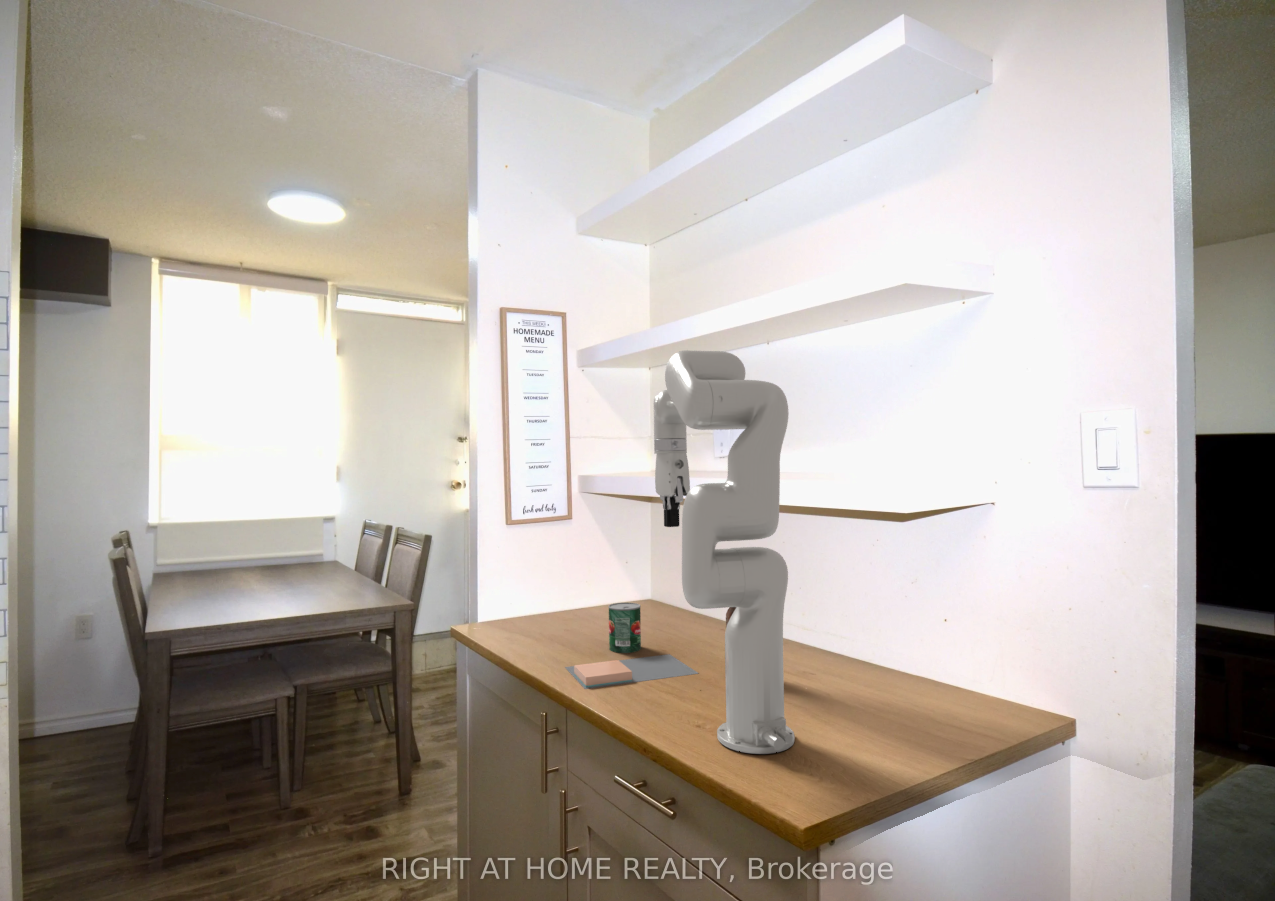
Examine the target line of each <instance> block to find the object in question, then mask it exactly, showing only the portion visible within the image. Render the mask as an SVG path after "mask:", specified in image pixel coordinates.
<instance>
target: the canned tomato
mask: <svg viewBox="0 0 1275 901" xmlns="http://www.w3.org/2000/svg"><path fill="white" fill-rule="evenodd" d="M607 607H608V647H609V651H610V652H612V653H617V654H630V653H636V652H640V650H641V649H642V646H641V645H642V634H641V630H642V629H641V628H642V625H641V624H642V623H641V622H642V621H641V620H642V619H641V604H640V603H637V602H615V603H611V604H608V606H607Z"/></svg>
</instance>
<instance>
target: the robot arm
mask: <svg viewBox="0 0 1275 901" xmlns="http://www.w3.org/2000/svg"><path fill="white" fill-rule="evenodd" d="M664 380H665V382H664V383H665V388H666V389H665V390H661V391H660V392H658V394H657V395H655V397H654V398H653V445H654V447H653V448H654V450H653V451H654V455H655V456H656V458H655V470H654V472H655V473H654V474H655V475H654V476H655V478H654V484H655V492H656V494H657V495H659V500H660V501H662V508H663V526H664V527H666V528H675V527H676V528H678V527H680V509H681V503H683V505H682V506H683V507H682V514H681V515H682V516H681V522H682V523H681V586H682V593H683V596H684V598H685V601H686V602H687V604H688V605H690V606H691V607H693V608H695V609H701V610H703V609H704V610H707V609H723V608H729V607H736V609H735V611H734V612H733V614H732V616H731V618H730V619H729V622H728V624H727V627H726V626H725V633H724V659H725V662H724V663H725V665H724V666H725V667H724V669H725V705H726V706H725V718H726V721H725V722H723V723H722V724H720V725H719V726H718V728H717V730H716V736H717V737H716V738H717V739H718V741H719V742H720V744H722V746H724V747H726V748H727V749H730V750H733V751H736V752H739V751H740V752H741V753H745V754H751V755H752V754H754V755H769V754H776V752H777V753H781V752H784V751H786V750H788V749H790V748H791V747H793V745H794V743H795V732H794V731H793V729H791V727H789V726H788V725H787V719H786V718H785V689H784V688H785V686H784V683H785V680H784V613H785V612H784V611H785V602H786V595H787V590H788V584H789V570H788V565H787V563H786V560H785V559H784V557H783V556H782V555H781V554H780V553H779V552H778V551H776V550H775V549H773V548H769V547H763V546H762V547H761V546H747V547H745V546H743V547H731V548H716V546H717V544H718V543H720V542H738V541H739V542H740V541H756V540H763V539H767V538H769V537H771V536H773V535H774V534H775V533H776V532H777V529H778V527H779V526H778V525H779V520H780V498H781V497H780V495H781V494H780V491H781V490H780V489H781V488H780V484H781V482H780V481H781V480H780V479H781V472H780V471H781V465H780V463H781V462H780V461H781V453H782V448H783V444H784V440H785V437H786V432H787V428H788V423H789V405H788V404H789V403H788V399H787V397H786V393H785V392H784V390H783V389H782V388H781V387H780V386H778V385H777V384H775V383H773V382H770V381H765V380H758V379H757V380H755V379H746V366H745V365H744V362H743V361H742V360H741V359H740V358H739V357H738V356H736V355H735V354H733V353H731V352H727V351H720V350H688V349H687V350H680V351H677V352H675V353H674V354H673V355H672V356H671V357H670V358H669V359H668V361H667V364H666V367H665V372H664ZM687 427H688V428H691V429H693V430H700V431H705V430H708V431H709V430H713V431H715V430H717V431H718V430H725V431H726V430H743V431H742V432H741V433H740V434H739V435H738V437H737V438H736V439H735V441H734V443H733V444H732V445H731V448H729V451H728V455H727V475H726V476H727V478H726V480H725V482H717V483H715V482H712V483H711V482H710V483H700V484H696V485H695V486H693V487H692V488H691V484H690V483H691V481H690V467H689V460H688V455H687V453H688V452H687V451H688V450H687V449H688V445H687V444H688V443H687ZM684 497H685V499H684Z"/></svg>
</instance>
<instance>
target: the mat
mask: <svg viewBox="0 0 1275 901" xmlns="http://www.w3.org/2000/svg"><path fill="white" fill-rule="evenodd" d="M619 661H620V662H621V663H622V664H623V665H625V666H626V667H627V668H628V669H630V670H631V671H632V681H629V682H622V683H614V684H607V685H599V686H592V687H585V686H584V685H583V684H582V683H581V681H580V680H579V679H578V678H577V677H576V676H575V675H574V665H573V666H572V665H571V666H564V668H565V669H566V670H567V671H568V673H570V675H571V676H572V677H573V678H574V679H575V680H576V681H577V683H578V684H579V685H580V686H581V687H582V688H583V689H584V690H589V689H596V688H603V687H605V688H606V687H609V686H610V687H611V686H617V685H625V684H633V683H640V682H647V681H655V680H663V679H669V678H677V677H683V676H690V675H691V676H692V675H698V674H700V673H699V672H698V671H696V670H694V669H693V668H692V667H690V666H689V665H687V664H685V663H683V662H682V661H680V660H679V659H677V658H676V657H675V656H673V655H671V654H670V653H668V654H661V655H652V656H644V657H635V658H628V659H619Z"/></svg>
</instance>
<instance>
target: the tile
mask: <svg viewBox="0 0 1275 901" xmlns="http://www.w3.org/2000/svg"><path fill="white" fill-rule="evenodd" d="M619 660H620V659H619ZM619 660H618V659H616V660H615V659H613V660H607V661H598V662H592V663H591V662H590V663H583V664H582V663H581V664H574V665H573V666H574V675H575V676H576V677H577V678H578V679H579V680H580V681H581V683H582V684H583V685H584V686H585V687H592V686H599V685H607V684H614V683H622V682H629V681H632V671H631V670H630V669H628V668H627V667H626V666H625V665H623V664H622V663H621V662H620V661H619Z"/></svg>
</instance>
